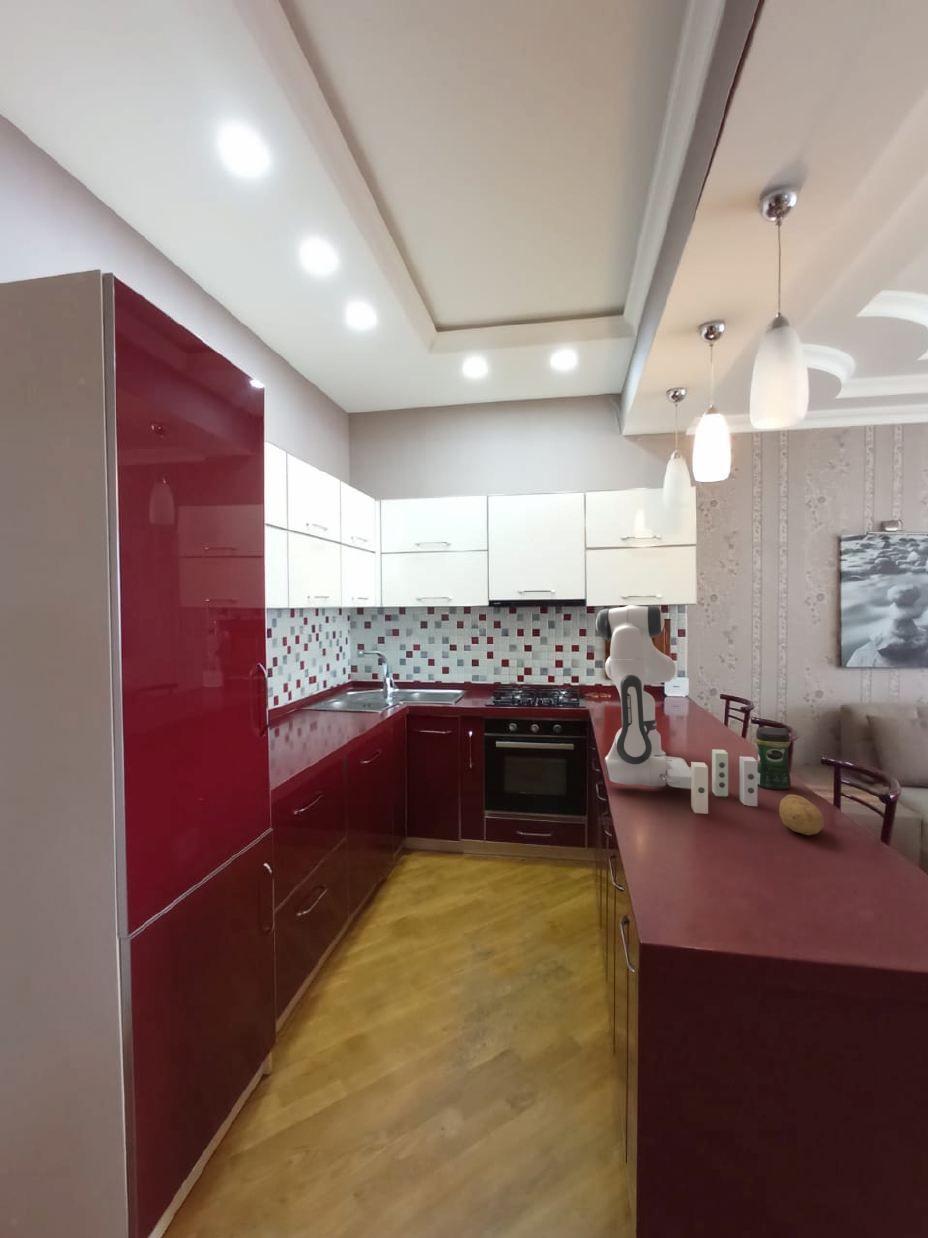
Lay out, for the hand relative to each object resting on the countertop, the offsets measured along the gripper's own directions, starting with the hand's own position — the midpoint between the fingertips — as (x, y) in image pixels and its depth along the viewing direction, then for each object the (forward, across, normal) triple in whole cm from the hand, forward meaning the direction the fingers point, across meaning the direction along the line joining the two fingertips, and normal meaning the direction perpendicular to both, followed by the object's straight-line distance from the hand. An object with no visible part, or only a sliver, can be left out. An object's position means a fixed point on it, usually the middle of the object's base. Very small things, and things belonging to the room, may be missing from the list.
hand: (705, 773), depth 167 cm
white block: (+4, 0, +6) cm, 7 cm away
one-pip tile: (-5, -15, +6) cm, 17 cm away
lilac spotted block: (+10, -7, +6) cm, 14 cm away
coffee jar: (+22, +10, +6) cm, 25 cm away
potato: (+17, -26, +6) cm, 32 cm away
